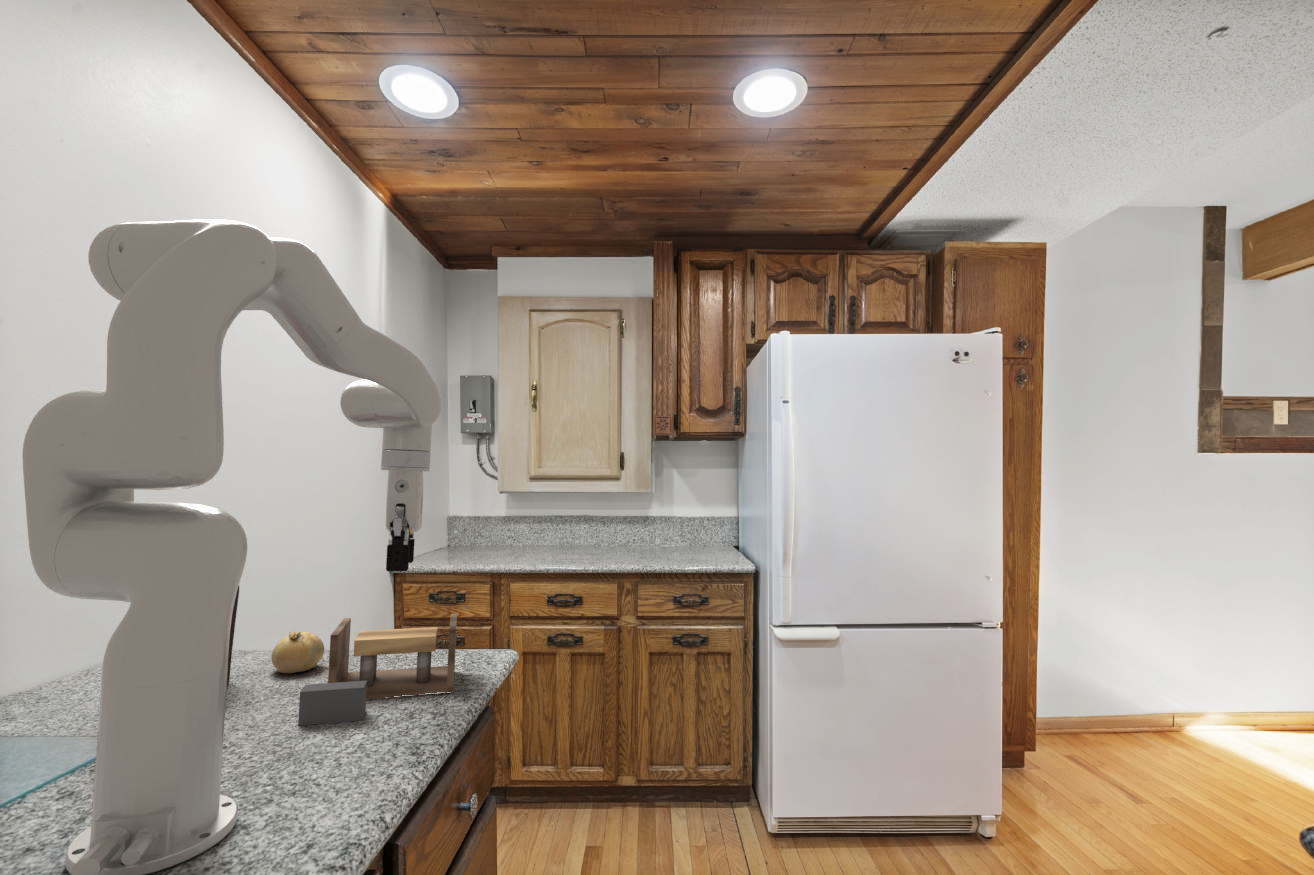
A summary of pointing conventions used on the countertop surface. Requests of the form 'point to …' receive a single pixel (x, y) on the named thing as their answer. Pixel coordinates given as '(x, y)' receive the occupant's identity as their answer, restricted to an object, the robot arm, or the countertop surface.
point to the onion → (297, 652)
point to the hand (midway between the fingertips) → (400, 566)
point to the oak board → (395, 641)
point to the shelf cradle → (391, 680)
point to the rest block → (332, 702)
